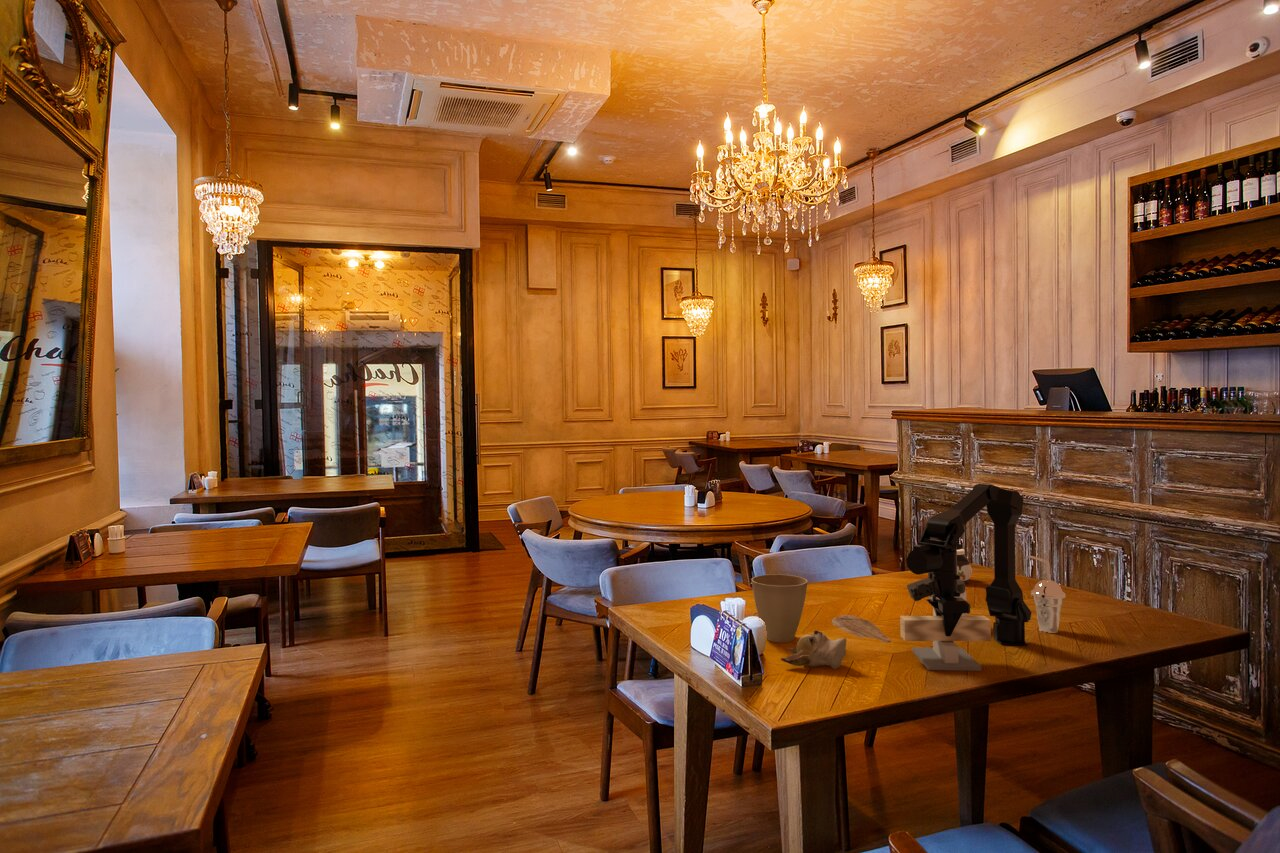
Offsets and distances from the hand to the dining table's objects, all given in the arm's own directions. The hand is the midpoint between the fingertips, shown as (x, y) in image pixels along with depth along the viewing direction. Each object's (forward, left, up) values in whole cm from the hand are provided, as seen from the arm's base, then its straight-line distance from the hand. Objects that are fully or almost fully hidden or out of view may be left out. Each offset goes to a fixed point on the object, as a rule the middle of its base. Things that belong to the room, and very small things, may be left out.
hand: (945, 633), depth 183 cm
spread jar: (-30, -89, -7) cm, 94 cm away
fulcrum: (0, 0, -7) cm, 7 cm away
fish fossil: (+15, -26, -7) cm, 31 cm away
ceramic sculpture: (+32, +5, -7) cm, 33 cm away
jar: (-11, -33, -7) cm, 35 cm away
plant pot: (+38, -17, -7) cm, 42 cm away
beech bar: (0, 0, -1) cm, 1 cm away
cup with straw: (-35, -27, -7) cm, 45 cm away
